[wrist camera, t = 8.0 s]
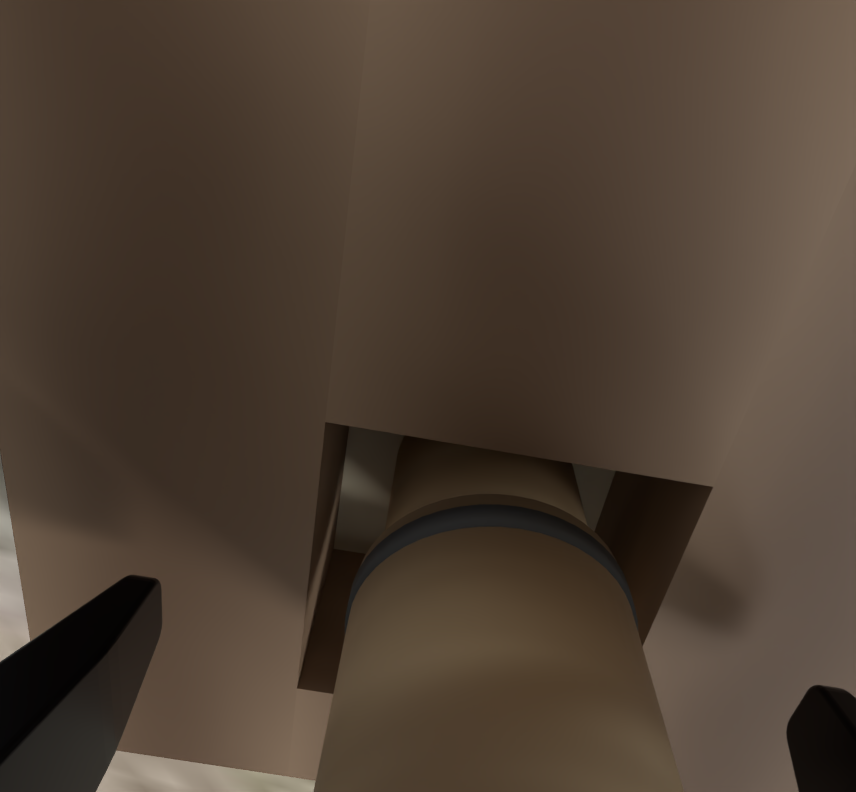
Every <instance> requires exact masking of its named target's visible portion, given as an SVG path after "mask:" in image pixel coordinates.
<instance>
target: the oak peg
mask: <svg viewBox="0 0 856 792" xmlns="http://www.w3.org/2000/svg"><path fill="white" fill-rule="evenodd" d="M314 792H684V790H683V786H682V783H681V779H680V776H679V772H678V769H677V766H676V762H675V759H674V755H673V752H672V748H671V745H670V741H669V738H668V734H667V731H666V727H665V724H664V720H663V717H662V713H661V710H660V706H659V703H658V700H657V696H656V693H655V689H654V686H653V682H652V679H651V675H650V672H649V668H648V665H647V661H646V658H645V654H644V651H643V647H642V644H641V640H640V637H639V633H638V619H637V615H636V610H635V606H634V602H633V599H632V596H631V592H630V589H629V586H628V583H627V581H626V578H625V576H624V573H623V571H622V570H621V568H620V566H619V565H618V563H617V561H616V559H615V557H614V556H613V554H612V552H611V551H610V549H609V548H608V546H607V545H606V544H605V542H604V541H603V540H602V539H601V538H600V537H599V536H598V534H597V533H595V532H594V531H593V530H592V529H591V528H590V527H588V526H587V522H586V517H585V513H584V509H583V505H582V501H581V497H580V493H579V489H578V485H577V481H576V477H575V473H574V469H573V465H572V463H568V462H562V461H556V460H550V459H544V458H538V457H532V456H526V455H520V454H514V453H508V452H502V451H496V450H490V449H484V448H478V447H472V446H466V445H460V444H454V443H448V442H442V441H436V440H430V439H424V438H418V437H412V436H406V435H405V436H404V438H403V440H402V442H401V444H400V447H399V451H398V455H397V460H396V466H395V472H394V478H393V484H392V490H391V496H390V502H389V508H388V514H387V520H386V526H385V531H384V532H383V533H382V534H381V535H380V536H379V537H378V538H377V539H376V541H375V542H374V543H373V544H372V545H371V547H370V549H369V550H368V552H367V553H366V555H365V556H364V559H363V561H362V563H361V566H360V568H359V569H358V572H357V574H356V576H355V579H354V581H353V584H352V588H351V592H350V596H349V601H348V606H347V611H346V616H345V639H344V644H343V649H342V654H341V659H340V664H339V669H338V673H337V678H336V683H335V688H334V693H333V698H332V703H331V708H330V713H329V718H328V723H327V728H326V733H325V738H324V743H323V748H322V753H321V758H320V763H319V768H318V773H317V778H316V783H315V788H314Z"/></svg>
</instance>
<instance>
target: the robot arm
mask: <svg viewBox="0 0 856 792" xmlns="http://www.w3.org/2000/svg"><path fill="white" fill-rule="evenodd" d="M161 629H162V588H161V583H160V581H159V580H158V579H156V578H152V577H145V576H139V575H128V576H126V577H124V578H122V579H121V580H119V581H118V582H116V583H115V584H113V585H112V586H110V587H109V588H108V589H106V590H105V591H103V592H102V593H100V594H99V595H97V596H96V597H94V598H93V599H91V600H90V601H89V602H87V603H86V604H84V605H83V606H81V607H80V608H78V609H77V610H75V611H74V612H72V613H71V614H70V615H68V616H67V617H65V618H64V619H62V620H61V621H59V622H58V623H56V624H55V625H53V626H52V627H51V628H49V629H48V630H46V631H45V632H43V633H42V634H40V635H39V636H37V637H36V638H34V639H33V640H32V641H30V642H29V643H27V644H26V645H24V646H23V647H21V648H20V649H18V650H17V651H15V652H14V653H13V654H11V655H10V656H8V657H7V658H5V659H4V660H2V661H1V662H0V792H96V790H97V788H98V786H99V784H100V782H101V780H102V778H103V776H104V775H105V773H106V771H107V769H108V766H109V764H110V762H111V760H112V758H113V756H114V754H115V752H116V750H117V747H118V745H119V742H120V740H121V737H122V735H123V732H124V730H125V727H126V724H127V722H128V719H129V717H130V714H131V711H132V709H133V706H134V703H135V701H136V698H137V696H138V693H139V690H140V688H141V685H142V683H143V680H144V677H145V675H146V672H147V669H148V667H149V664H150V662H151V659H152V656H153V654H154V651H155V649H156V646H157V643H158V641H159V638H160V634H161ZM786 736H787V743H788V747H789V752H790V756H791V760H792V765H793V769H794V773H795V778H796V782H797V786H798V791H799V792H856V698H855V697H854V696H853V695H852V694H851V693H849V692H848V691H846V690H844V689H841V688H837V687H830V686H824V685H814V686H812V687H810V688H809V689H808V690H807V692H806V694H805V695H804V697H803V698H802V700H801V701H800V703H799V705H798V706H797V708H796V709H795V711H794V713H793V714H792V716H791V717H790V719H789V721H788V724H787V730H786Z"/></svg>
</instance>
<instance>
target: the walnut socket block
mask: <svg viewBox="0 0 856 792" xmlns="http://www.w3.org/2000/svg"><path fill="white" fill-rule="evenodd" d="M405 435H406V436H412V437H418V438H424V439H430V440H436V441H442V442H448V443H454V444H460V445H466V446H472V447H478V448H484V449H490V450H496V451H502V452H508V453H514V454H520V455H526V456H532V457H538V458H544V459H550V460H556V461H562V462H568V463H572V465H573V469H574V473H575V477H576V481H577V485H578V489H579V493H580V497H581V501H582V505H583V509H584V513H585V517H586V522H587V526H588V527H590V528H591V529H592V530H593V531H594V532H595V533H597V534H598V536H599V537H600V538H601V539H602V540H603V541H604V542H605V544H606V545H607V546H608V548H609V549H610V551H611V552H612V554H613V556H614V557H615V559H616V561H617V563H618V565H619V566H620V568H621V570H622V571H623V573H624V576H625V578H626V581H627V583H628V586H629V589H630V592H631V596H632V599H633V602H634V606H635V610H636V615H637V619H638V633H639V637H640V640H641V644H642V647H643V651H644V654H645V658H646V661H647V665H648V668H649V672H650V675H651V679H652V682H653V686H654V689H655V693H656V696H657V700H658V703H659V706H660V710H661V713H662V717H663V720H664V724H665V727H666V731H667V734H668V738H669V741H670V745H671V748H672V752H673V755H674V759H675V762H676V766H677V769H678V772H679V776H680V779H681V783H682V786H683V790H684V792H799V791H798V786H797V782H796V778H795V773H794V769H793V765H792V760H791V756H790V752H789V747H788V743H787V736H786V730H787V724H788V721H789V719H790V717H791V716H792V714H793V713H794V711H795V709H796V708H797V706H798V705H799V703H800V701H801V700H802V698H803V697H804V695H805V694H806V692H807V690H808V689H809V688H810V687H812V686H814V685H824V686H830V687H837V688H841V689H844V690H846V691H848V692H849V693H851V694H852V695H853V696H854V697H855V698H856V0H0V453H1V460H2V466H3V472H4V479H5V485H6V491H7V497H8V504H9V510H10V516H11V522H12V529H13V535H14V541H15V547H16V554H17V560H18V566H19V573H20V579H21V585H22V591H23V598H24V604H25V610H26V616H27V623H28V629H29V635H30V641H32V640H33V639H34V638H36V637H37V636H39V635H40V634H42V633H43V632H45V631H46V630H48V629H49V628H51V627H52V626H53V625H55V624H56V623H58V622H59V621H61V620H62V619H64V618H65V617H67V616H68V615H70V614H71V613H72V612H74V611H75V610H77V609H78V608H80V607H81V606H83V605H84V604H86V603H87V602H89V601H90V600H91V599H93V598H94V597H96V596H97V595H99V594H100V593H102V592H103V591H105V590H106V589H108V588H109V587H110V586H112V585H113V584H115V583H116V582H118V581H119V580H121V579H122V578H124V577H126V576H128V575H139V576H145V577H152V578H156V579H158V580H159V581H160V583H161V588H162V629H161V634H160V638H159V641H158V643H157V646H156V649H155V651H154V654H153V656H152V659H151V662H150V664H149V667H148V669H147V672H146V675H145V677H144V680H143V683H142V685H141V688H140V690H139V693H138V696H137V698H136V701H135V703H134V706H133V709H132V711H131V714H130V717H129V719H128V722H127V724H126V727H125V730H124V732H123V735H122V737H121V740H120V742H119V745H118V747H117V751H124V752H131V753H137V754H144V755H150V756H157V757H164V758H170V759H177V760H183V761H190V762H197V763H203V764H210V765H216V766H223V767H230V768H236V769H243V770H249V771H256V772H263V773H269V774H276V775H282V776H289V777H296V778H302V779H309V780H315V781H316V778H317V773H318V768H319V763H320V758H321V753H322V748H323V743H324V738H325V733H326V728H327V723H328V718H329V713H330V708H331V703H332V698H333V693H334V688H335V683H336V678H337V673H338V669H339V664H340V659H341V654H342V649H343V644H344V639H345V616H346V611H347V606H348V601H349V596H350V592H351V588H352V584H353V581H354V579H355V576H356V574H357V572H358V569H359V568H360V566H361V563H362V561H363V559H364V556H365V555H366V553H367V552H368V550H369V549H370V547H371V545H372V544H373V543H374V542H375V541H376V539H377V538H378V537H379V536H380V535H381V534H382V533H383V532H384V531H385V526H386V520H387V514H388V508H389V502H390V496H391V490H392V484H393V478H394V472H395V466H396V460H397V455H398V451H399V447H400V444H401V442H402V440H403V438H404V436H405Z"/></svg>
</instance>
